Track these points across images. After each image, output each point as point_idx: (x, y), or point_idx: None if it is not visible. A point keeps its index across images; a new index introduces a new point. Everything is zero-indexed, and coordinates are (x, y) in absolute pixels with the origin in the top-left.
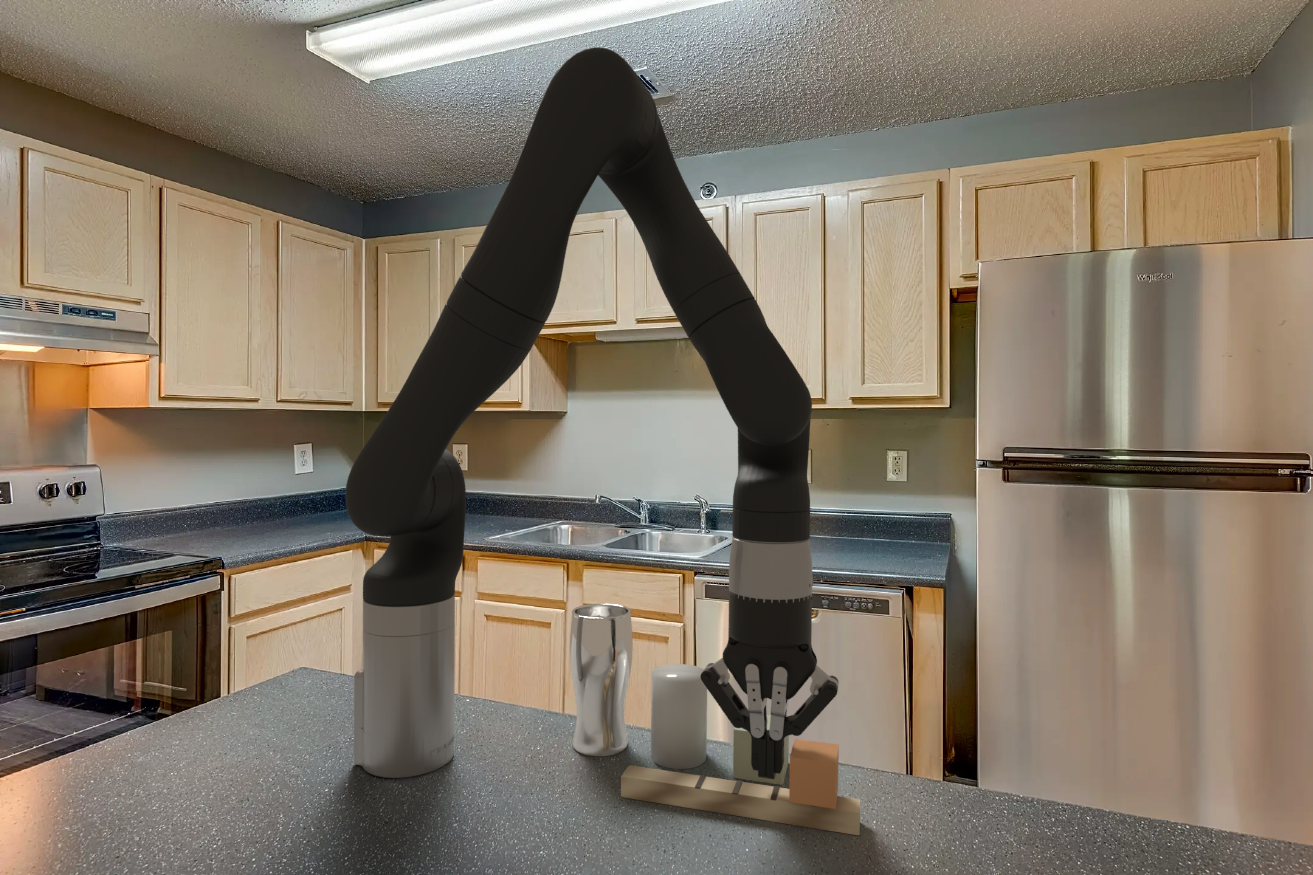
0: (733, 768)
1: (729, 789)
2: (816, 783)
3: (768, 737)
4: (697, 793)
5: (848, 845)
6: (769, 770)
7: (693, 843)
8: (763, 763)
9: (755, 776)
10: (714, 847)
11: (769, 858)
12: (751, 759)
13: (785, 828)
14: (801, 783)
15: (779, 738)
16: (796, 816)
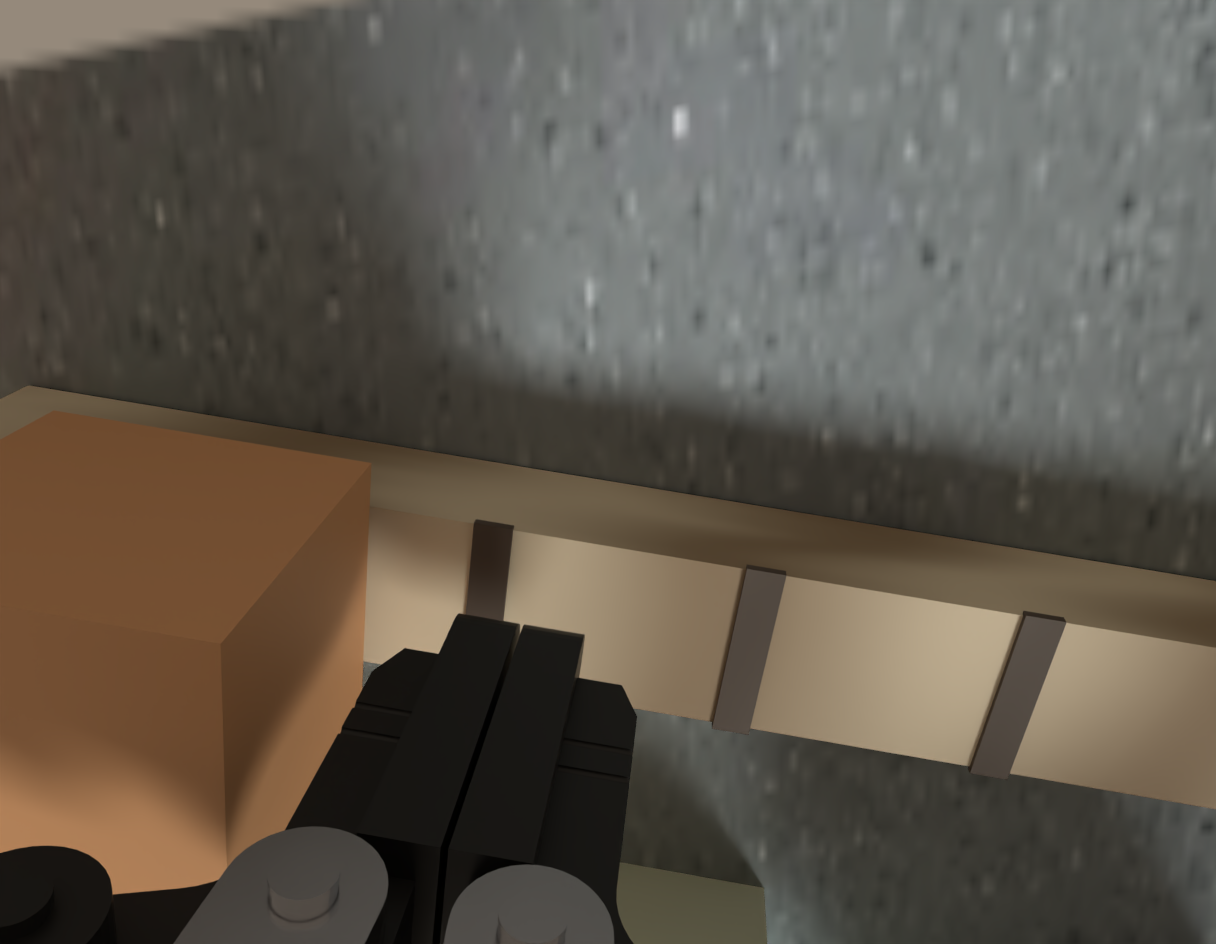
0: (764, 931)
1: (803, 620)
2: (90, 496)
3: (425, 890)
4: (1031, 594)
5: (75, 273)
6: (480, 646)
7: (1051, 134)
8: (523, 689)
9: (632, 882)
10: (903, 108)
11: (531, 37)
12: (631, 743)
13: (446, 403)
14: (220, 510)
15: (282, 836)
16: None
